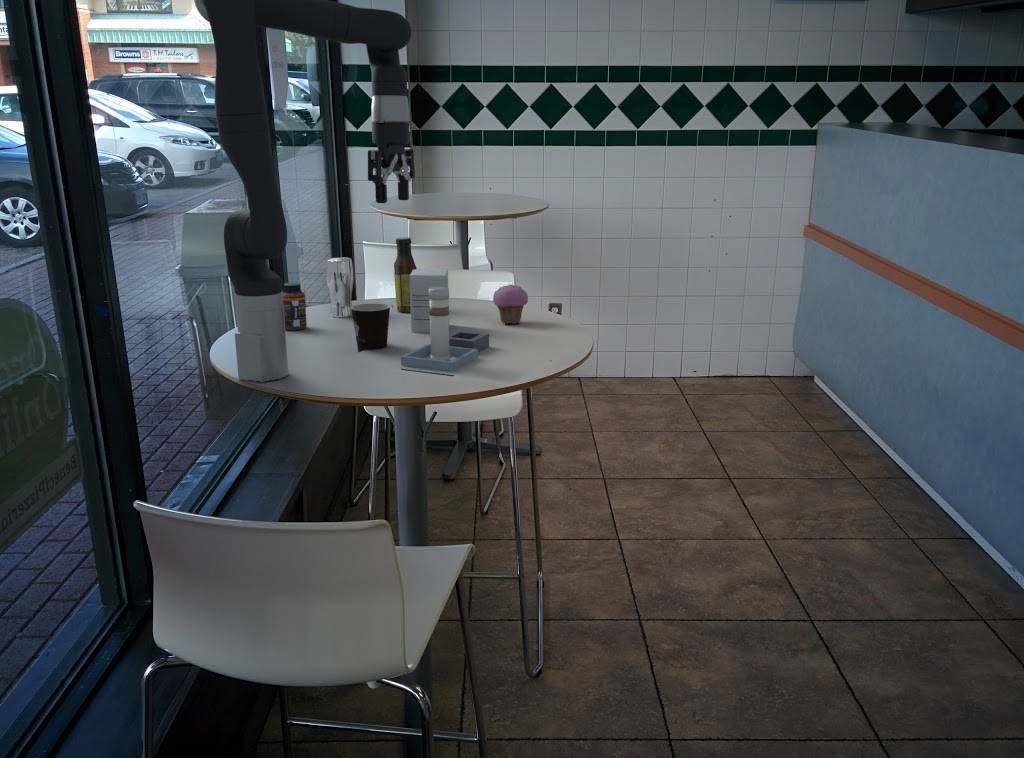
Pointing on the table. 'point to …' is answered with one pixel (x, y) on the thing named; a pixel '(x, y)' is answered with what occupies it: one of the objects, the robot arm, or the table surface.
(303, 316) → the supplement bottle
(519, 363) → the table surface
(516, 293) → the cupcake
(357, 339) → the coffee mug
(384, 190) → the robot arm
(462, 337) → the box
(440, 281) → the supplement box
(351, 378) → the table surface
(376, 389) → the table surface
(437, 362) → the parts tray
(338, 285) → the beer glass
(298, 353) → the table surface
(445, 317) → the cylinder
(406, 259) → the sauce bottle
